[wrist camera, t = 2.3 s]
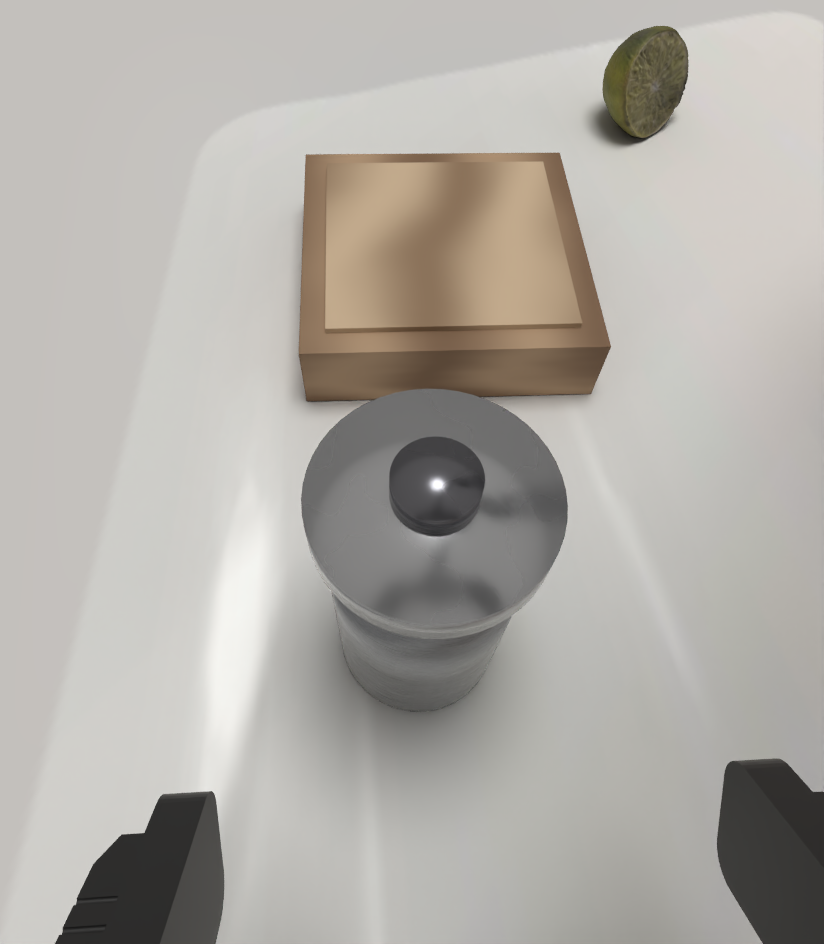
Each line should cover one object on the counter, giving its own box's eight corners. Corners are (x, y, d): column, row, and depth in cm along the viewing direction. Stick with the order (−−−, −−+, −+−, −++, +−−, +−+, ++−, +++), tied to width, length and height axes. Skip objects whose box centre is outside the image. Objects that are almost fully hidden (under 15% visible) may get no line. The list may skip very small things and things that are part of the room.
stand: (546, 206, 35) (560, 147, 32) (591, 393, 29) (612, 342, 26) (311, 208, 34) (305, 149, 32) (306, 401, 28) (298, 349, 26)
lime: (675, 109, 40) (710, 16, 36) (664, 157, 37) (700, 65, 33) (600, 92, 40) (626, 0, 36) (584, 139, 38) (609, 46, 34)
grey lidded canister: (491, 552, 25) (552, 364, 16) (511, 716, 22) (601, 604, 13) (333, 558, 25) (300, 370, 16) (332, 725, 22) (292, 617, 13)
